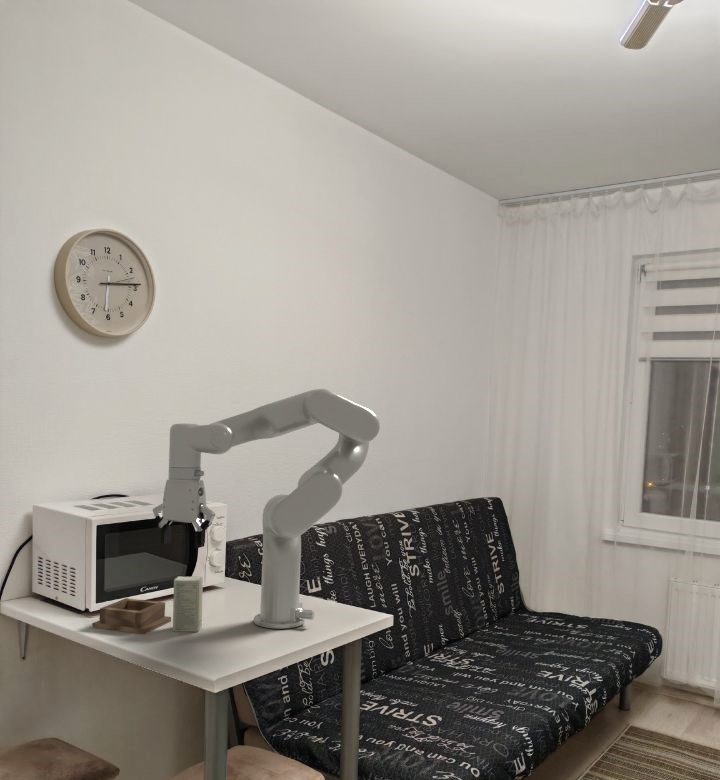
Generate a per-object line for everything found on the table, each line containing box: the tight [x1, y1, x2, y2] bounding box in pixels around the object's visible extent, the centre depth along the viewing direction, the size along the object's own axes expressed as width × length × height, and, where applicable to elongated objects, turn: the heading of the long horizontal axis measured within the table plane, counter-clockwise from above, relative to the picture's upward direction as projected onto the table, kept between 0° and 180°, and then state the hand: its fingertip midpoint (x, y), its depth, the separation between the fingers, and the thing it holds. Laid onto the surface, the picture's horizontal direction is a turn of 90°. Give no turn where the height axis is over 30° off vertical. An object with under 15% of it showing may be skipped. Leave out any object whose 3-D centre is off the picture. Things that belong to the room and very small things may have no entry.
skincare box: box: [172, 576, 204, 633], centre depth 184 cm, size 6×4×12 cm
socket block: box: [91, 597, 172, 635], centre depth 187 cm, size 14×12×4 cm
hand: (182, 545), depth 187 cm, fingers open, 9 cm apart
